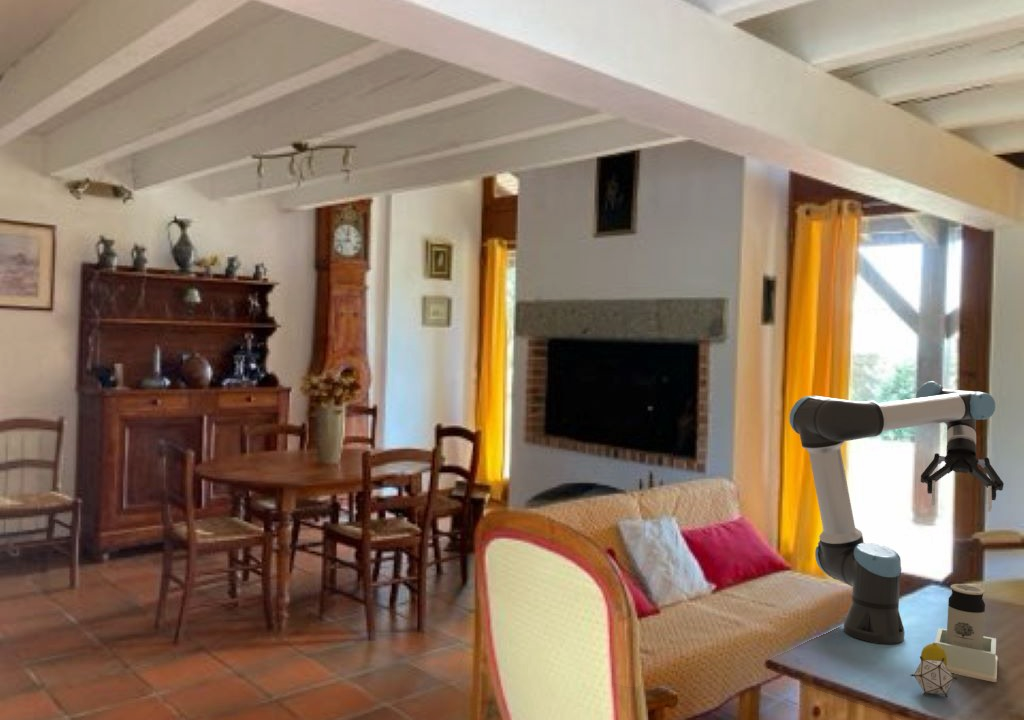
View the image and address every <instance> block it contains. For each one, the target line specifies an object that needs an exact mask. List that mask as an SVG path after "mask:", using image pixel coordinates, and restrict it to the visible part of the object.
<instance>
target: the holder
mask: <svg viewBox="0 0 1024 720" xmlns="http://www.w3.org/2000/svg"><path fill="white" fill-rule="evenodd" d="M946 639H947V628H943V627H941V628H940V627H938V629H937V633H936V636H935V639H934V643H936V644H937V645H939V646H940V647H941V648H942V649H943V650H944V651H945V654H946V657H947V665H946V667H947V668H948V670H949V671H950V673H951V674H953V673H954V675H957V676H958V675H959V676H963V677H967V678H974V679H978V680H983V681H988V682H992V683H997V681H998V680H997V679H998V677H997V676H998V655H996V653H997V652H996V651H997V650H996V649H997V638H996V637H995V638H994V637H990V636H985V635H983V651H982V650H977V649H972V648H967V647H961V646H956V645H951V644H946Z"/></svg>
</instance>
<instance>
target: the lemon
mask: <svg viewBox="0 0 1024 720" xmlns="http://www.w3.org/2000/svg"><path fill="white" fill-rule="evenodd" d="M920 656H921V657H922V658H923V659H924V660H937V661H942V658H944V661H943V662H944V664H945V665H947V657H946V654H945V651H944V650H943V649H942V648H941V647H940V646H939V645H937V644H936V643H935V642H932V643H929V644H927V645H925V646H924V647H923V648H922V650H921V654H920ZM921 661H922V660H921V659H920V662H921Z"/></svg>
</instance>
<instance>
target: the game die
mask: <svg viewBox="0 0 1024 720" xmlns="http://www.w3.org/2000/svg"><path fill="white" fill-rule="evenodd" d="M919 657H920V658H919V659H920V663H919V665H918V667H917V668H916V671H915V673H912V674H910V676H911V677H914V678H915V680H916V681H917V682H918V685H920V687H921V689H922V690H923V693H922V696H923V697H924V696H926V695H927V694H933V695H944V697H946V698H947V699H948V698H949V696H948V694H947V692H948V691H949V689H950V687H951V685H952V683H953V682H954V680H958V679H959V678H958V677H957V676H954V675H953V673H950V671H949V670H948V668H947V667H946V665H945V664H944V662H943V661H944V658H942V661H937V660H924V659H923V658H922V657H921V655H920V656H919ZM921 660H922V661H921Z"/></svg>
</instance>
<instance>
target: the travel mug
mask: <svg viewBox="0 0 1024 720" xmlns="http://www.w3.org/2000/svg"><path fill="white" fill-rule="evenodd" d="M950 589H951V594H950V596H949V597H948V607H947V623H946V624H947V625H946V627H947V628H946V629H947V639H946V644H951V645H956V646H961V647H967V648H972V649H977V650H982V651H983V636H984V633H985V632H984V630H985V613H986V612H985V611H986V603H985V601H984V599H983V596H984V594H985V593H986V591H985V590H984V589H983V588H981V587H979V586H975V585H970V584H964V583H953V584H951V585H950Z"/></svg>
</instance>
